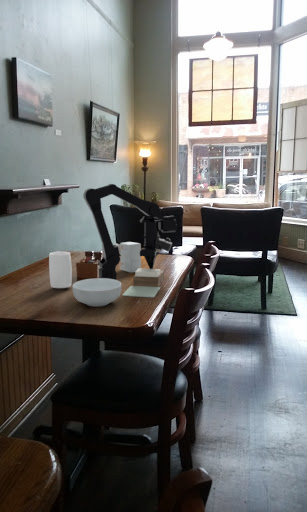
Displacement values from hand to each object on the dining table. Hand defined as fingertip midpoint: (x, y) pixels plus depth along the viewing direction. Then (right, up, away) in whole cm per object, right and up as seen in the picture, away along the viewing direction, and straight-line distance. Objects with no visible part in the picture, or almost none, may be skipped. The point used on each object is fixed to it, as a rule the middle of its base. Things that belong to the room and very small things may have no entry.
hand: (151, 269), depth 179 cm
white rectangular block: (-2, -2, -8) cm, 8 cm away
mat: (-4, -8, -18) cm, 20 cm away
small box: (-10, -1, +20) cm, 22 cm away
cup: (-36, -7, -12) cm, 38 cm away
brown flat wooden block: (-1, -5, -4) cm, 7 cm away
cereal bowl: (-19, -11, -32) cm, 39 cm away
